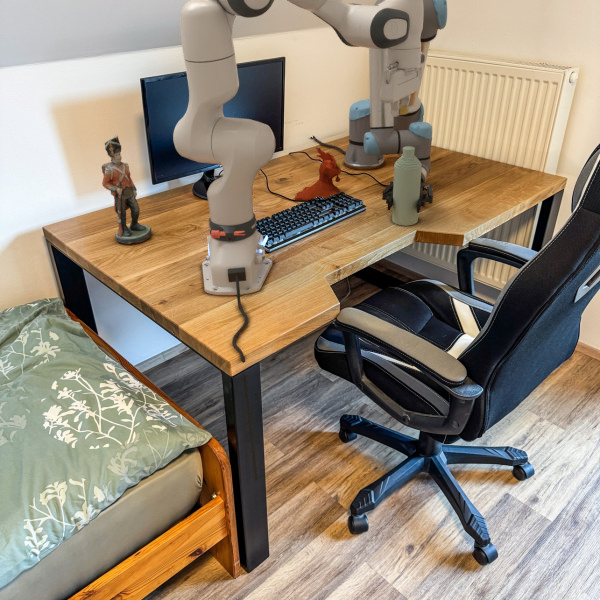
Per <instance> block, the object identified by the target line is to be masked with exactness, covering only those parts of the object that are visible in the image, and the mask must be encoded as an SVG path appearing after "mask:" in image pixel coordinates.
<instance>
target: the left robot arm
mask: <svg viewBox="0 0 600 600" xmlns="http://www.w3.org/2000/svg"><path fill="white" fill-rule="evenodd" d="M286 1H287V2H289V3H291V4H292V5H295V6H296V7H298V8H301V9H303V10H306V11H309V12H310V13H312V14H313V15H314V16H316V17H317V18H318V19H320V20H322V21H323V22H325V23H326V24H327V25H328V26H330V27H331V28H332V30H333V31H334V32H335V34H336V35H337V37H338V38H339V40H340V41H341V42H342V43H343V44H344V45H345V46H347V47H351V48H365V49H369V48H373V49H387V51H386V67H388V69H387V70H386V71H385V72H384V74H383V77H382V84H381V95H380V98H381V102H383V103H390V105H391V109H392V116H393V117H397V116H399V115H400V109H399V102H400V99H402V102H401V104H402V105H407V106H408V104H409V101H410V96H411V94H412V93H414V92H416V91H418V90H419V88H420V89H421V86H420V85H422V81H423V77H422V72H423V63H424V62H425V54H423V53H422V52H421V41H420V36H421V32H422V29H423V16H424V6H423V0H384V1H383V2H382V3H380V4H378V5H379V6H374V5H372V4H371V5H370V4H362V3H349V2H348V3H347V2H345V1H344V0H286ZM274 3H275V0H188V1H186V2H185V4H184V5H183V6H182V8H181V10H180V13H179V14H180V15H179V18H180V19H179V25H180V26H179V27H180V40H181V41H180V42H181V49H182V54H183V55H182V56H183V61H184V66H185V73H186V78H187V85H188V95H189V96H188V105H187V108H186V112H185V113H184V114H183V116H182V117H181V118H180V119H179V120H178V122H177V123H176V125H175V127H174V129H173V134H172V137H173V138H172V140H173V144H174V148H175V150H176V152H177V153H178V154H179V155H180V156H181V157H183V158H185V159H188V160H191V161H194V162H197V163H203V164H212V165H220V166H221V167H222V176H220V177H218V178H217V179H215V180H213V181H212V182H211V183H210V185H209V187H208V189H207V191H206V196H207V203H208V212H209V218H208V229H209V234H208V235H207V236H206V243H207V249H208V255H206V256H205V260H204V261H203V262H202V263H201V268H202V278H203V290H204V292H205V293H207V294H210V295H214V296H236V300H237V306H238V309H239V311H240V313H241V315H242V316H243V319H244V321H243V324H242V326H241V327H240V328H239V329H238V330H237V331H236V333H234V335H233V337H232V341H231V342H232V347H233V348H234V349H235V350H236V351H237V353H238V355H239V357H240V360H241V363H246V358H245V355H244V352H243V350H242V349H241V348H240V347H239V346H238V345H237V343H236V342H237V338H238V337H239V335H240V334H241V333H243V331H244V330H245V329H246V327H247V326H248V322H249V318H248V314H247V313H246V312H245V310H244V308H243V306H242V301H241V295H249V294H253V293H256V292H259V291H260V290H261V288H262V287H263V286H264V283H265V280H266V278H267V276H268V274H269V273H270V271H271V268H272V266H273V265H274V264H273V260H272V259H271V258H268V257H266V249H265V246H266V243H267V241H268V239H269V237H268V235H265V237H264V235H263V234H262V233H260V232H259V231H258V230H257V218H256V214H255V212H254V200H253V188H254V182H255V179H256V176H257V175H258V173H259V171H260V170H262V168H264V167H265V166H266V165H268V163H269V162H271V160H272V158H273V157H274V154H275V150H276V138H275V135H274V132H273V130H272V129H271V127H270V126H269V125H268V124H266V123H263V122H261V121H258V120H253V119H250V118H241V117H227V116H225V115H224V109H223V108H224V105H225V104H226V103H228V102H229V101H231V100H232V99H233V98H234V97H236V95H237V93H238V91H239V87H240V80H239V79H240V78H239V73H238V65H237V58H236V53H235V52H236V51H235V45H234V39H233V29H234V27H233V26H234V22H235V19H236V17H237V16H239V17H242V18H246V19H250V18H251V19H252V18H257V17H260V16H262V15H264V14H265V13H267V12H268V11H269V9H271V7H272V5H273V4H274ZM423 73H424V72H423ZM421 80H422V81H421ZM419 91H420V90H419ZM242 381H243V382H242V385H243V394H244V401H245V411H246V420H247V429H248V437H249V443H250V444H249V445H250V453H251V460H252V468H253V477H254V478H253V479H254V481H258V479H259V478H258V467H257V461H256V451H255V443H254V434H253V427H252V417H251V408H250V400H249V399H250V398H249V390H248V380H247V375H242Z"/></svg>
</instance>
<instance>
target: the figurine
mask: <svg viewBox="0 0 600 600" xmlns="http://www.w3.org/2000/svg"><path fill="white" fill-rule="evenodd" d="M104 149H105V151H106V153H107V156H108V157H109V158H110V161H108V162H105V163H103V164H102V165H101V172H102V174H103V177H102V182H101V185H102V187H103V188H105V190H108V191H110V195H111V196H113V201H114V202H113V204H114V206H113V207H114V209H113V210H114V212H115V213H116V214H117V218H116V222H117V224H118V230H117V231H116V233H115V234H114V237H115V240H116V241H117V242H118V243H121V244H128V245H130V244H133V243H135V244H137V243H142V242H144V241H147V240H149V239H150V238H151V236H152V228H151V227H150V226H149V225H147V224H141V223H139V218H140V213H141V212H140V211H141V210H140V206H139V203H138V200H137V199H136V198H137V196H138V192H137V190H138V189H137V187H136V185H135V184H134V181H133V179H132V177H131V172H130V166H129V163H128V162H123V161H122V155H121V152H122V145H121V142H120V140H119V136H118V134H115V135H114V136H113V137H112V138H111V139H108V140H107V141H106V142H104ZM128 210H130V218H131V222H130V224H129V226H128V224H127V211H128Z"/></svg>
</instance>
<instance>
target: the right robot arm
mask: <svg viewBox="0 0 600 600" xmlns="http://www.w3.org/2000/svg"><path fill="white" fill-rule="evenodd" d="M383 1H384V0H376V1H375V3H374V4H373V6H379V5H378V4H380V3H382V2H383ZM423 6H424V16H423V29H422V32H421V36H420V41H421V52H422V53H423V54H425V62H424V63H423V72H422V78H423V76H424V72H425V67H426V62H427V58H428V53H429V50H430V46H431V45H430V44H431V42H432V41H434V40H435V39H436V37H437V34H438V30H440V31H441V30H443V29H445V27H447V22H448V1H447V0H423ZM386 51H387V49H373V48H368V67H369V69H368V71H369V72H368V73H369V75H368V76H369V98H365V99H360V100H357V101H355V102H353V103H352V104H351V105H350V107H349V111H348V112H349V113H348V126H349V127H348V137H349V138H348V146H347V148H346V151H344V150H343V149H342V148H340V147H338V146H336V145H333V144H328V143H325V142H322V141H321V140H319V139H318V138H317V137H316V136H315V135H312V136H313V138H312V137H311V136H310V140H314V141H315V142H316V143H318V144H319V145H321V146H324V147H327V148H331V149H335V150H338V151H339V152H341V153H342V154H343V155H345V156H344V157H343V165H344V166H345V167H347V168H348V169H352V170H357V171H368V170H376V169H379V168H381V167H383V166H384V164H385V158H384V156H390V155H403V147H406V146H411V147H414V148H415V151H414V155H415V156H416V157H417V159H418V160H419V161H420V162H421V164H422V167H421V182H420V197H419V201H418V203H417V213H418V214H420V212H421V209H422V208H425V207H426V206H427V205H426V204H430V205H432V204H433V202H434V184H429V185H426V184H427V183H426V182H427V179H428V177H429V174H430V172H431V166H432V165H431V153H432V143H433V125H432V124H431V123H429V122H426V121H424V116H425V107H424V104H423V102H422V101H421V99H420V97H419V95H420V91H421V85H422V84H421V85H420V88H419V90H418V91H416V92H414V93H412V94H411V96H410V101H409V104H408V113H407V114H405V115H399V116H397V117H393V116H392V113H391V105H390V103H383V102H381V98H380V95H381V84H382V77H383V74H384V72H385V71H386V70H387V69H388V67H386ZM422 81H423V79H422V80H421V82H422ZM401 102H402V99H400V102H399V104H401ZM393 184H394V181H390V182H389V185H387V187H386V188H384V189H383V190H382V198H381V200H382V201H385V204H387V211H391V210H392V208H393Z"/></svg>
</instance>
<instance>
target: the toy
mask: <svg viewBox="0 0 600 600" xmlns="http://www.w3.org/2000/svg"><path fill="white" fill-rule="evenodd" d="M315 149H316V151H317V153H318V154H317V155H316V157H317V158H321V159H322V162H321V163H320V164H319V168H318V174H319V176H318V180H317V181H315V183H313V184H312V185H310V186H305V187H304V188H303V189H302V191H299V192H296V195H295V196H294V200H296V201H304V202H309V201H308V200H311V199H314V198H316V197H318V196H321V197H323V198H327V197H329V196H330V195H333V194H338V193H339V187H338V186H336V185H335V184H334V182H333V179H334V178H335V183H340V182H341V178H340V177H339V176H340V175H341V173H342V169H341V164H340V163H339V162H338V161H337V160H336V158H335V157H334V155H333V154H331V153H330V152H325V151H324V150H322V149H321V147H315ZM311 201H312V200H311Z"/></svg>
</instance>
